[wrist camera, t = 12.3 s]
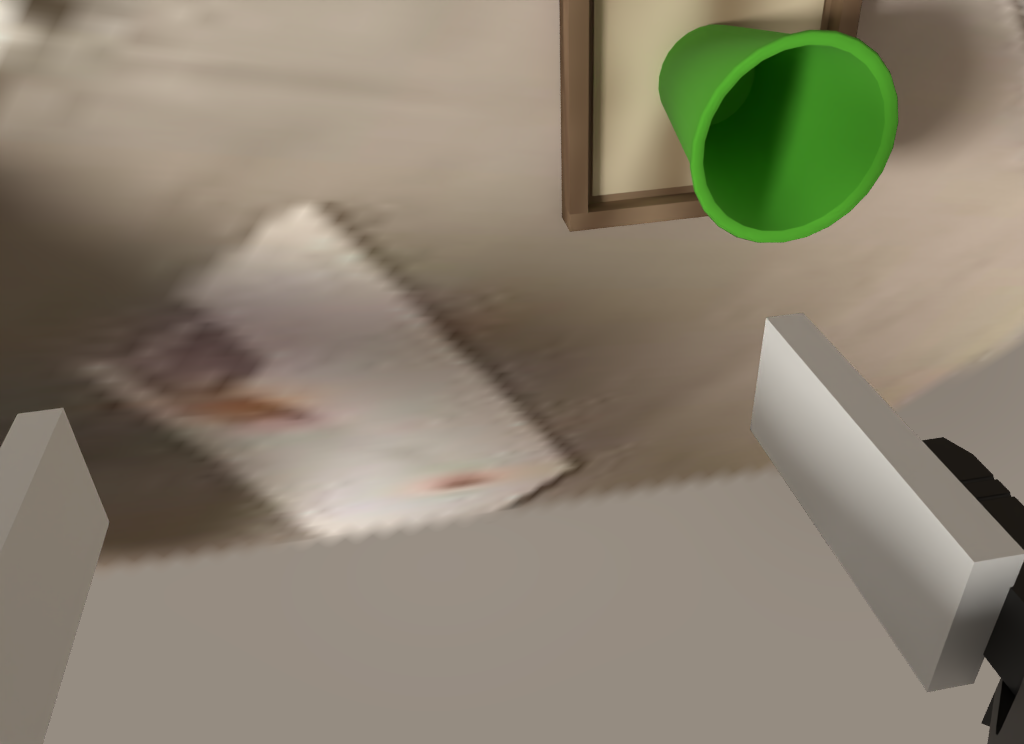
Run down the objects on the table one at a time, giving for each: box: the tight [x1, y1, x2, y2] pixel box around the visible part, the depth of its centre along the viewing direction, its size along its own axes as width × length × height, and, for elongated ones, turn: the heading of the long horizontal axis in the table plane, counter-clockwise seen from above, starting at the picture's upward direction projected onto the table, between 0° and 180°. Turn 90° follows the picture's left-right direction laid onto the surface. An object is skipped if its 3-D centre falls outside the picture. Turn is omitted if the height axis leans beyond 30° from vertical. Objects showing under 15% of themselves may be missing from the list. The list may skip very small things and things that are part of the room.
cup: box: [658, 24, 898, 243], centre depth 41 cm, size 9×9×11 cm
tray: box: [560, 0, 862, 232], centre depth 45 cm, size 15×15×2 cm
